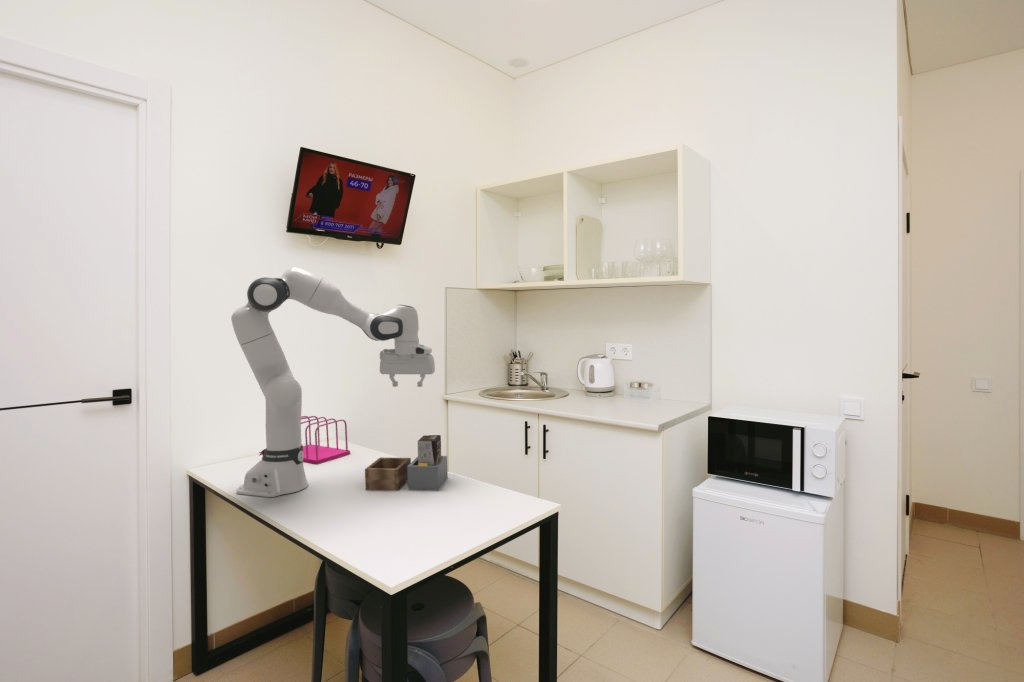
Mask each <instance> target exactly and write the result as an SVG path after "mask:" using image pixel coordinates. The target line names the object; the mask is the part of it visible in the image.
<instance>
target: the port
mask: <svg viewBox="0 0 1024 682" xmlns="http://www.w3.org/2000/svg"><path fill="white" fill-rule="evenodd" d="M407 472H408V481H407V490H408V491H437V492H438V491H440V489H441V488H442V486H443V485H444V484H445V482H446V481H447V480H448V476H449V475H448V455H441V460H440V461H439V462H438V463H437V464H436V465H435V466H428V463H419V464H418V456H416V457H415V459H413V461H411V463H410V464H409V465H408V466H407ZM446 479H447V480H446Z"/></svg>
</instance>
